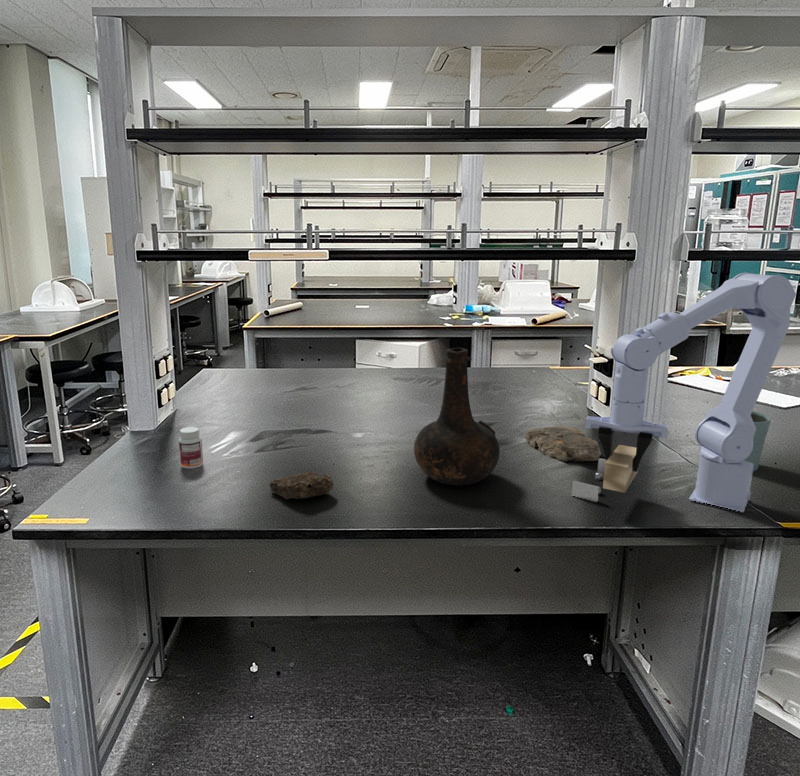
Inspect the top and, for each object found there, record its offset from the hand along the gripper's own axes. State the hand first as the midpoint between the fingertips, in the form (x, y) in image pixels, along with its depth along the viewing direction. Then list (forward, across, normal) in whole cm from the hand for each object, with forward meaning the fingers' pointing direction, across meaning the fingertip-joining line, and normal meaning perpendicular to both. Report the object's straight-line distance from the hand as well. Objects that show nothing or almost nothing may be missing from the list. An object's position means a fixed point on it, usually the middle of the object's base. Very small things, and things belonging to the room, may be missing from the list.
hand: (622, 467), depth 117 cm
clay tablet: (+8, +14, -26) cm, 31 cm away
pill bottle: (+7, +89, +21) cm, 91 cm away
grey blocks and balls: (+7, +5, -7) cm, 11 cm away
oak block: (+2, 0, 0) cm, 2 cm away
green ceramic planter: (+8, -23, -33) cm, 41 cm away
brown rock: (+7, +58, +24) cm, 63 cm away
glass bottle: (+7, +33, +2) cm, 34 cm away
